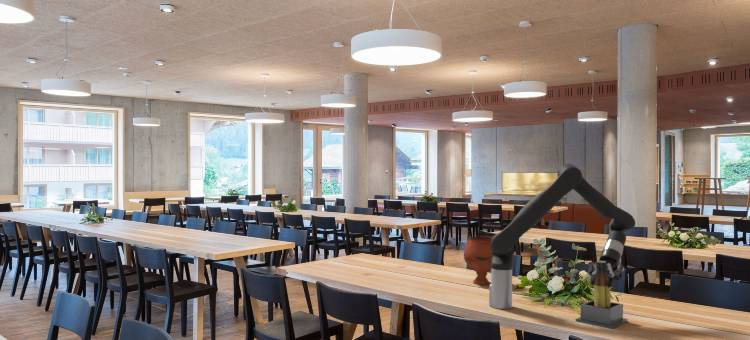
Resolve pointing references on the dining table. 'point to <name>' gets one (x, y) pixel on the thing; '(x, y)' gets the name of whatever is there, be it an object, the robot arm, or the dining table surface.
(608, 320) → the box
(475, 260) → the goblet
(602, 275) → the sauce bottle
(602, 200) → the robot arm
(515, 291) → the dining table surface
